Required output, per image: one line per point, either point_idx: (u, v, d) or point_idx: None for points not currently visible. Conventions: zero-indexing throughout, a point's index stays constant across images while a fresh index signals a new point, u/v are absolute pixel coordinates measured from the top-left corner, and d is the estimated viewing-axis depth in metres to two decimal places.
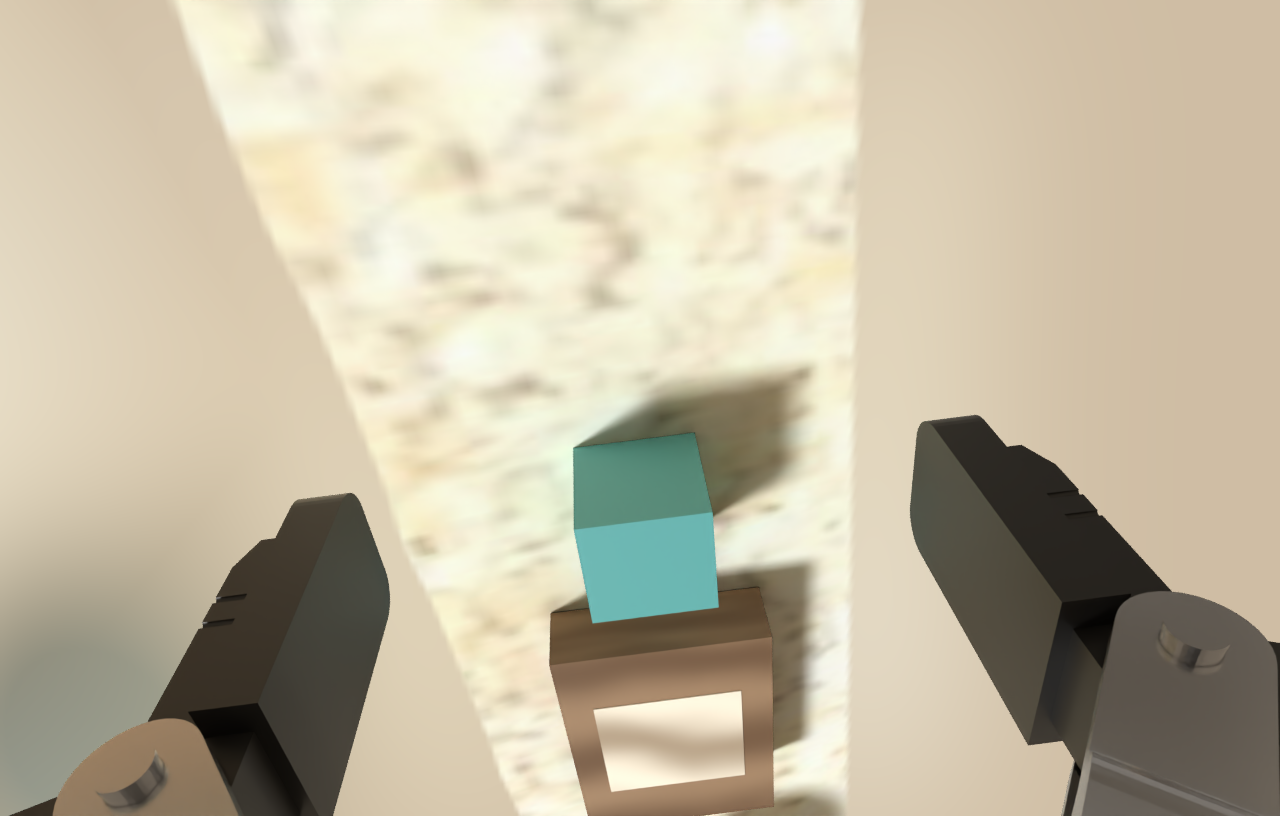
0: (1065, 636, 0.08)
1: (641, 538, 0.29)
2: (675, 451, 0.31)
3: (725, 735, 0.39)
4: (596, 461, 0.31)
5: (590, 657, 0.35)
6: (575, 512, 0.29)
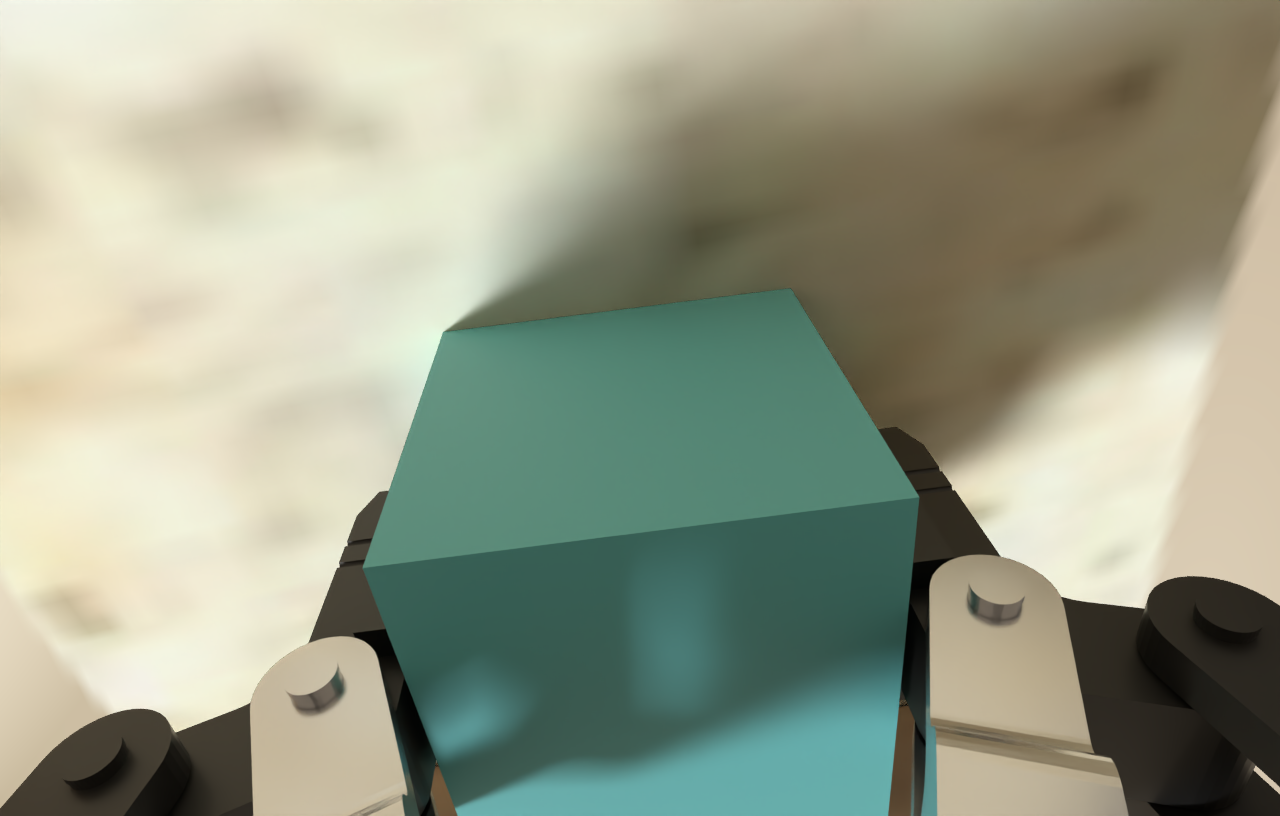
0: None
1: (634, 601, 0.07)
2: (742, 329, 0.10)
3: None
4: (501, 359, 0.10)
5: None
6: (391, 503, 0.08)
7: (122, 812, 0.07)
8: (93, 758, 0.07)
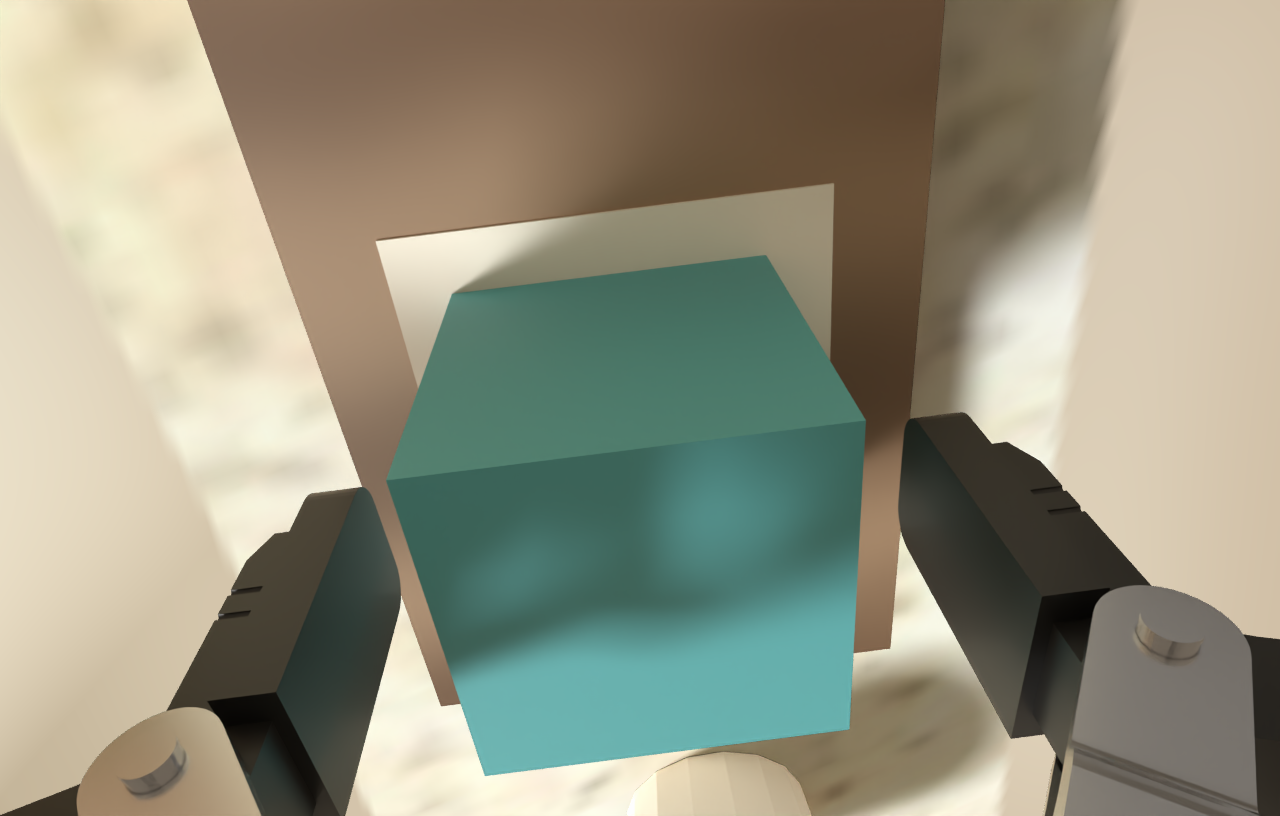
0: (1046, 630, 0.08)
1: (620, 514, 0.09)
2: (721, 290, 0.11)
3: None
4: (504, 317, 0.11)
5: None
6: (408, 431, 0.09)
7: None
8: None
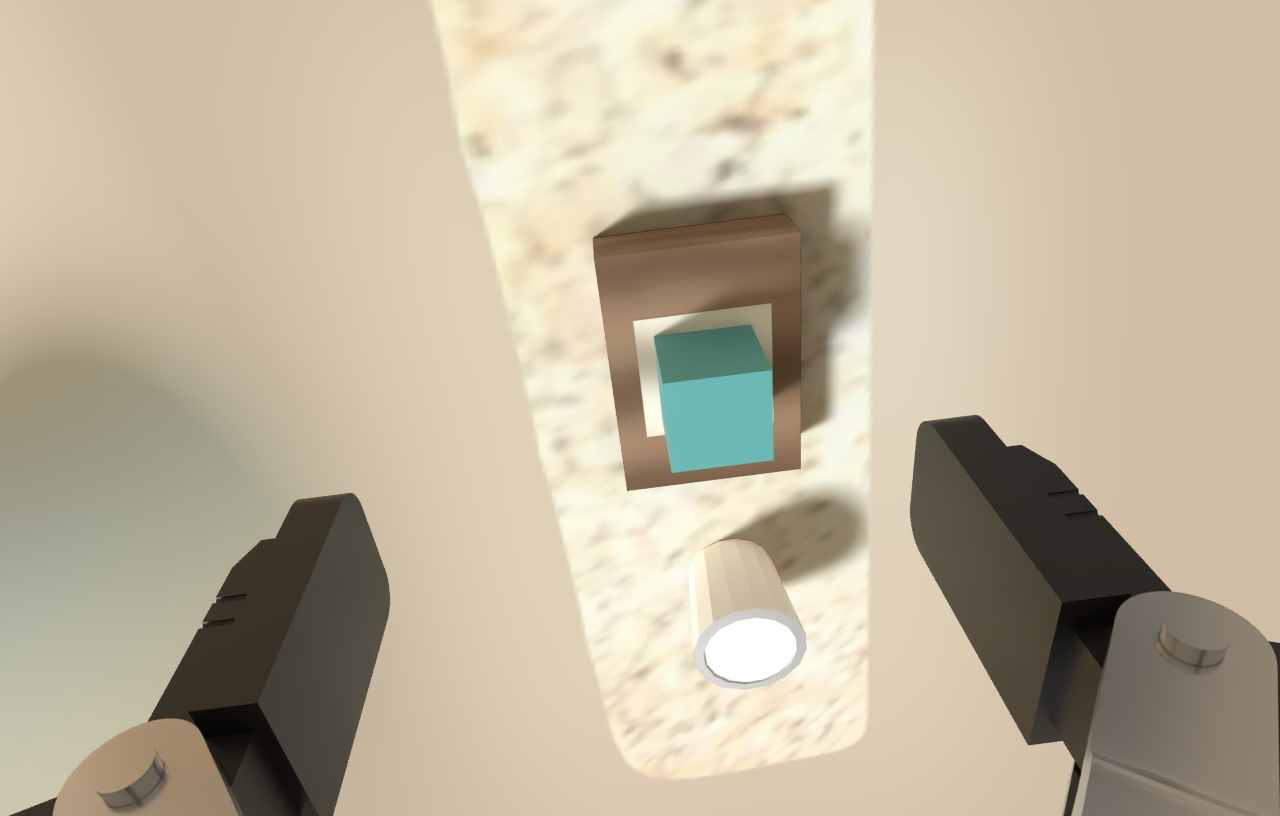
0: (1065, 636, 0.08)
1: (715, 393, 0.36)
2: (737, 336, 0.39)
3: None
4: (674, 344, 0.39)
5: (631, 252, 0.38)
6: (662, 374, 0.36)
7: None
8: None
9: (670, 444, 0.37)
